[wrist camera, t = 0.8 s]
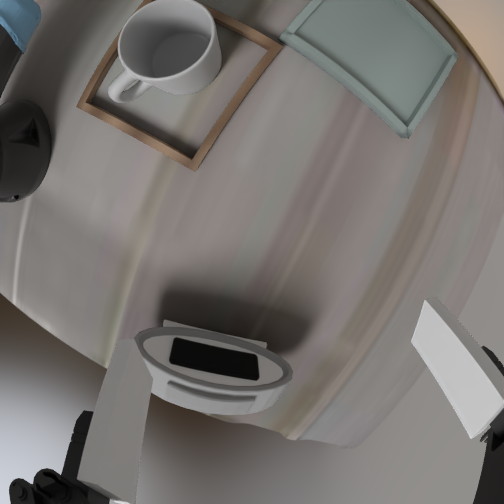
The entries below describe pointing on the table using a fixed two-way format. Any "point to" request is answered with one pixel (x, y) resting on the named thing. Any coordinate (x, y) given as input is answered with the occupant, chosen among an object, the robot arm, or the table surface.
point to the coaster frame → (223, 119)
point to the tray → (376, 54)
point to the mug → (167, 50)
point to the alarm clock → (212, 369)
